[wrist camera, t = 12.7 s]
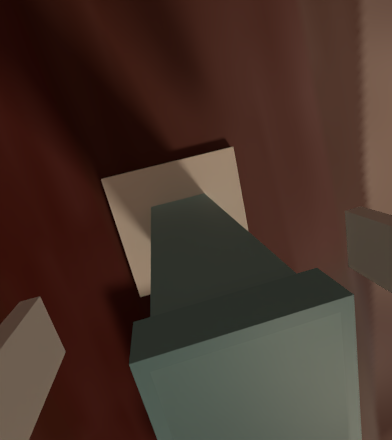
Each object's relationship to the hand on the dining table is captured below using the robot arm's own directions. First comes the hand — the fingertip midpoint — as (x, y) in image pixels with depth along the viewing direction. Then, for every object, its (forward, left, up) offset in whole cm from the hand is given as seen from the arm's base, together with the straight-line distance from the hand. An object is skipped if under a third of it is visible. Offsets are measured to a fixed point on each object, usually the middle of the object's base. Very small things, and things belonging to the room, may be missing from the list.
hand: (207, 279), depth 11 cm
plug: (0, 0, -8) cm, 8 cm away
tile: (0, 0, -9) cm, 9 cm away
